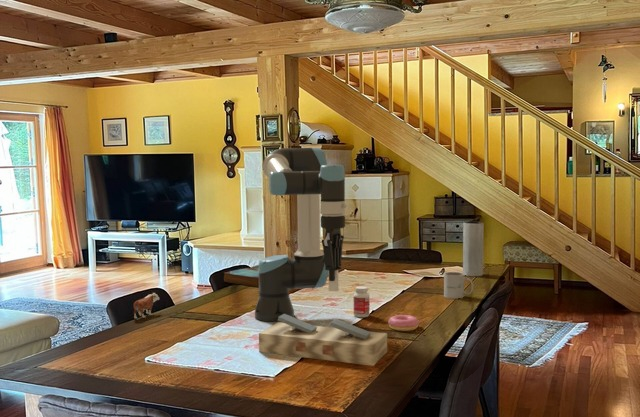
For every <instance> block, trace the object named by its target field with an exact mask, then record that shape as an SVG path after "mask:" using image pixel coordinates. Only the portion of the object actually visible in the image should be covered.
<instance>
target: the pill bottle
mask: <svg viewBox="0 0 640 417" xmlns="http://www.w3.org/2000/svg"><path fill="white" fill-rule="evenodd" d="M368 289H369V288H368V286H361V285H360V286H355V289H354V290H355V292H354V294H353V316H354V317H356V318H368V317H369V316H370V294H369V293H368V291H369V290H368Z"/></svg>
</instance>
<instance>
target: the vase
mask: <svg viewBox="0 0 640 417" xmlns="http://www.w3.org/2000/svg"><path fill="white" fill-rule="evenodd" d="M462 224H463V225H462V227H463V228H462V230H463V231H462V233H463V234H462V273H464V276H465V275H466V276H465V277H482V276H483V275H484V230H485V229H484V222H483V221H476V220H474V221H470V220H469V221H464V222H463V223H462Z"/></svg>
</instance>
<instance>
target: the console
mask: <svg viewBox="0 0 640 417" xmlns="http://www.w3.org/2000/svg"><path fill="white" fill-rule="evenodd" d="M315 326H316V327H317V329H316V331H315V332H313V333H312V334H309V333H307V332H304V331H302V330H300V329H297V328H296V329H294V330H293V329H292V326H290V325H288V324H285V323H283V322H281V321H277V322H276V323H275V324H273V325H271V326H269V327H267V328H265V329H264V330H262V331H260V332H259V333H258V352H259V353H265V354H274V355H283V356H291V357H300V358H307V359H315V360H322V361H332V362H340V363H347V364H355V365H356V364H357V365H362V366H363V365H364V366H370V367H374V366H375V365H376V364H377V363H378V362H379V361H380V360H381V359H382V358H383V357H384V356H385V355H386V354H387V353H388V333H387V332H380V331H379V332H376V331H370V332H371V333H370V336H369V337H368V338H367V339H366V340H365V339H362V338H360V337H357V336H355V335H352V334H349V335H345V333H346V332H344V331H342V330H339V329H337V328H334V327H331V326H330V327H329V326H319V325H315Z"/></svg>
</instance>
